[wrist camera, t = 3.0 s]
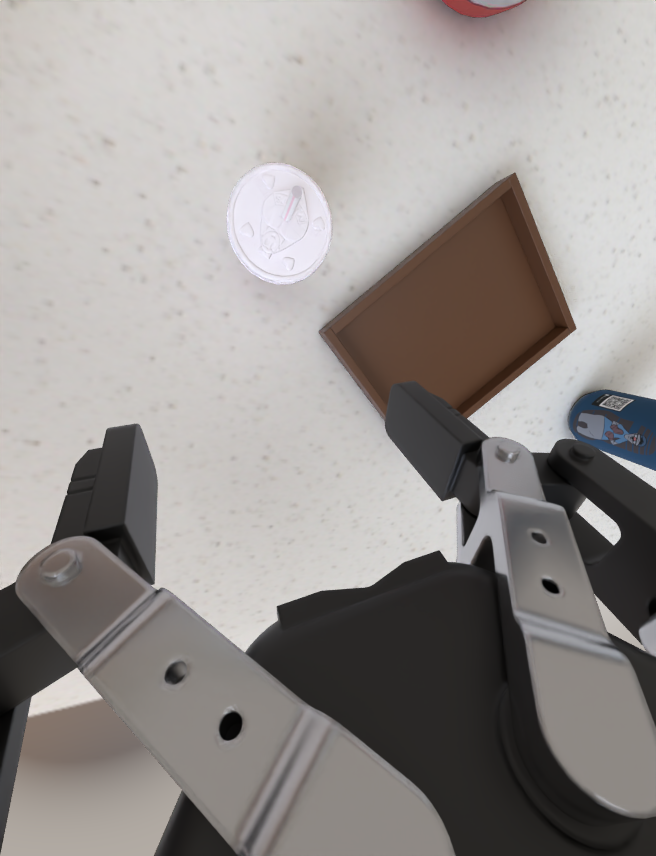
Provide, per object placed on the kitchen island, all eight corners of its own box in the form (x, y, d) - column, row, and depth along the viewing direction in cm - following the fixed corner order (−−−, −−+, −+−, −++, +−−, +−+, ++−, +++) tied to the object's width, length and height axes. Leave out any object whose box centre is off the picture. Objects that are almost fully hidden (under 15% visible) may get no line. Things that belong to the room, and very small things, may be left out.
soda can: (615, 418, 44) (740, 453, 33) (572, 450, 44) (682, 496, 33) (602, 376, 41) (733, 398, 30) (556, 410, 41) (670, 445, 30)
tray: (407, 451, 38) (417, 459, 36) (318, 331, 32) (323, 333, 30) (557, 327, 38) (576, 328, 36) (496, 182, 32) (515, 171, 29)
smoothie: (321, 244, 30) (379, 190, 17) (282, 308, 31) (308, 302, 18) (257, 191, 28) (268, 81, 15) (217, 261, 28) (193, 216, 15)
